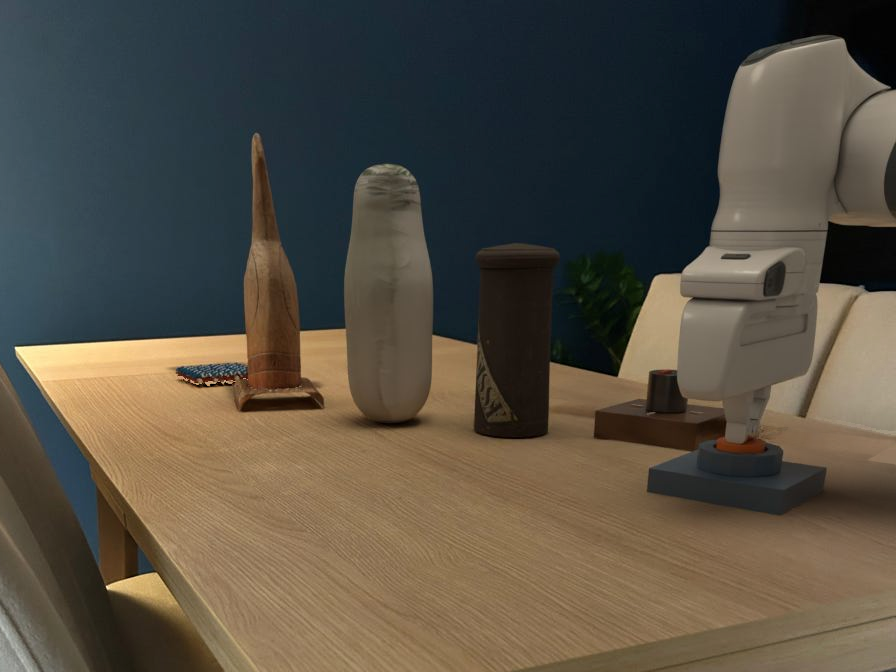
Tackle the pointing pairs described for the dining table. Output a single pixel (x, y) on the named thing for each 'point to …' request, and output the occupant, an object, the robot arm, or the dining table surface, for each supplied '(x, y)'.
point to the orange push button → (741, 446)
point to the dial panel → (660, 425)
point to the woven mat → (214, 372)
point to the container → (514, 340)
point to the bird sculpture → (270, 302)
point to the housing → (738, 479)
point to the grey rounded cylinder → (388, 297)
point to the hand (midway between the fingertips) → (741, 440)
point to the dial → (664, 392)
